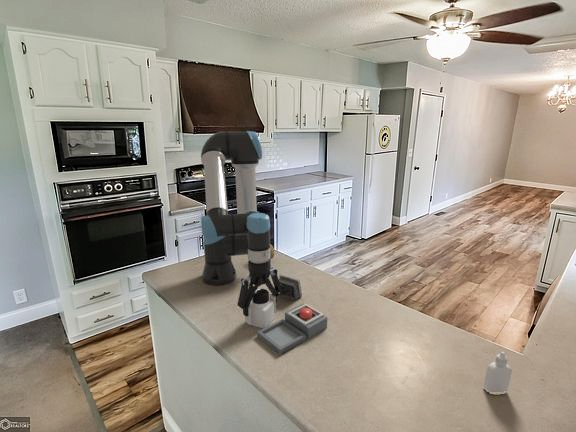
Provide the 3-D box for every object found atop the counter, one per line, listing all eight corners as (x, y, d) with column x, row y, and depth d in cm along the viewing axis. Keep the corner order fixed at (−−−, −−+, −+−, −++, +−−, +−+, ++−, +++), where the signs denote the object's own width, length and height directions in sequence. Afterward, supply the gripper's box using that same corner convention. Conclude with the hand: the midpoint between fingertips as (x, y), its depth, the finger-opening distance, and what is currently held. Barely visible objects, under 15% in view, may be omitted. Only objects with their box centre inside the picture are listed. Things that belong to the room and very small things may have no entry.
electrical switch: (302, 297, 133) (301, 277, 130) (296, 303, 129) (294, 283, 126) (283, 291, 138) (282, 271, 134) (276, 297, 134) (275, 277, 130)
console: (257, 336, 108) (256, 324, 107) (303, 312, 122) (303, 302, 120) (280, 355, 100) (280, 342, 99) (327, 327, 113) (327, 315, 112)
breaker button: (296, 320, 114) (296, 311, 113) (305, 315, 117) (305, 306, 116) (305, 326, 111) (305, 316, 110) (314, 321, 114) (314, 311, 113)
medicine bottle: (274, 318, 118) (274, 288, 115) (265, 329, 112) (264, 298, 109) (257, 313, 121) (256, 284, 118) (247, 324, 115) (246, 293, 112)
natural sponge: (278, 261, 166) (278, 243, 163) (265, 266, 160) (264, 248, 158) (267, 256, 173) (267, 238, 170) (254, 261, 167) (253, 243, 164)
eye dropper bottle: (481, 381, 90) (489, 344, 86) (505, 388, 87) (514, 350, 84) (483, 393, 86) (491, 354, 82) (508, 400, 83) (517, 361, 80)
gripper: (236, 272, 100) (239, 335, 106) (291, 253, 114) (291, 309, 121) (224, 265, 106) (227, 324, 112) (278, 248, 120) (278, 301, 126)
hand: (260, 317), depth 116 cm, fingers open, 10 cm apart
